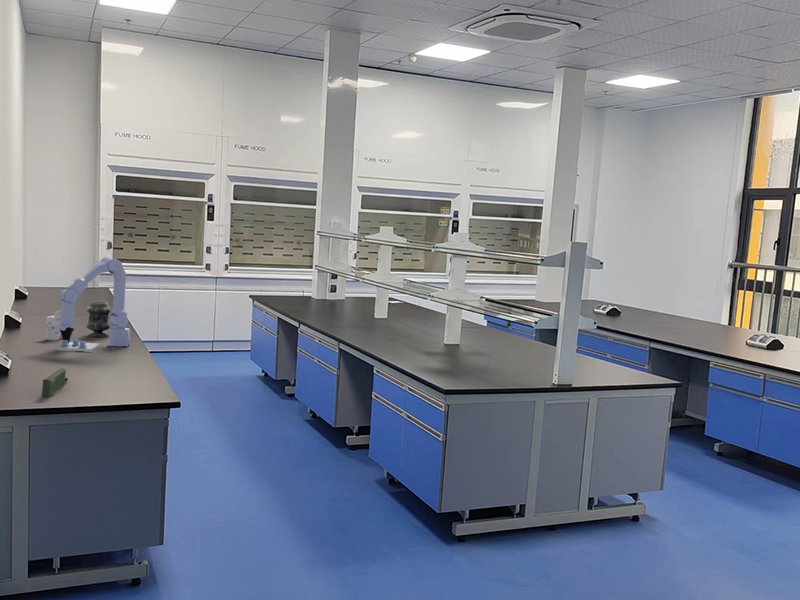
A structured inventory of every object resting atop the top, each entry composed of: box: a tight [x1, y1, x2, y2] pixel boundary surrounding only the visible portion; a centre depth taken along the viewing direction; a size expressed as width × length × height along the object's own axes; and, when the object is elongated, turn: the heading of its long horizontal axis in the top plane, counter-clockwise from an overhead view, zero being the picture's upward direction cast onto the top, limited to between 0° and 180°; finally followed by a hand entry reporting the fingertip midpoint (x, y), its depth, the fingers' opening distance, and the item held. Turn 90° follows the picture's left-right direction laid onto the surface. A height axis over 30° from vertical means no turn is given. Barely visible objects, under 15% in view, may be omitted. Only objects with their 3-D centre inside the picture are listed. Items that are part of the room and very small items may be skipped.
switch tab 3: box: [78, 340, 87, 348], centre depth 342 cm, size 3×3×3 cm
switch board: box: [57, 341, 101, 353], centre depth 347 cm, size 15×16×2 cm
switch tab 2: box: [72, 338, 80, 346], centre depth 346 cm, size 3×3×3 cm
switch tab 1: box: [60, 339, 69, 347], centre depth 343 cm, size 3×3×3 cm
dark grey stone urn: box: [85, 301, 112, 338], centre depth 385 cm, size 12×12×18 cm
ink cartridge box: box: [45, 309, 63, 341], centre depth 367 cm, size 9×5×15 cm, turn 168°
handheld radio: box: [41, 367, 69, 398], centre depth 267 cm, size 7×3×25 cm
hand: (66, 343), depth 345 cm, fingers closed
